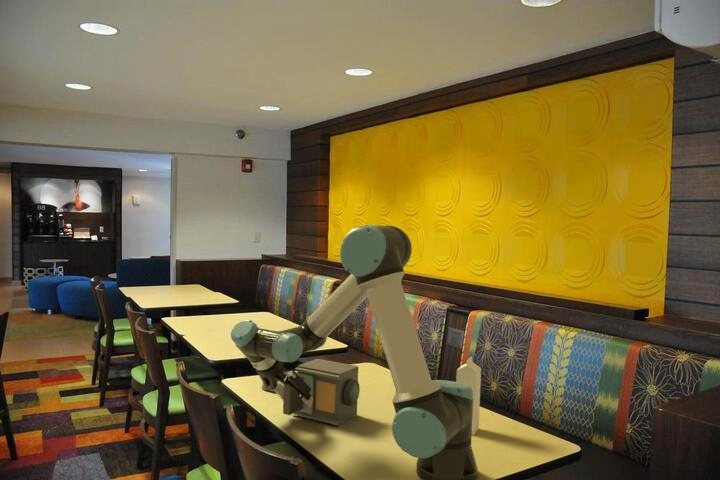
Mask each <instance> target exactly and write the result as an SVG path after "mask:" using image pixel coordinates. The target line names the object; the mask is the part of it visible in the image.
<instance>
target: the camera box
mask: <svg viewBox="0 0 720 480" xmlns="http://www.w3.org/2000/svg"><path fill="white" fill-rule="evenodd" d="M294 371H295V372H299V373H304V374H309V375H314V394H313V399H314V400H313V414H309V413H305V412H301V411H297V412H295V413H293V416H294V415H295V416H298V417H301V418H306V419H310V420H314V421H318V422H320V423H321V422H322V423H327V424H329V425H333V426H337V427H339V426H340V425H342V424H345V423H346V422H347V421H350V420H351V419H353V418H356V416H358V399H359V396H360V390H361V387H360V384H359V366H358V365H355V364H354V365H353V364H349V363H343V362H339V361H332V360H327V359H322V358H321V359H320V358H316V359H312V360H310V361H307V362H304V363H301V364H299V365H297V367H295V368H294Z"/></svg>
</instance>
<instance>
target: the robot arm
mask: <svg viewBox="0 0 720 480" xmlns="http://www.w3.org/2000/svg"><path fill="white" fill-rule="evenodd" d="M412 249H413V245H412V241H411V239H410V237H409V236H408V234H407V233H406V232H405V231H404V230H403V229H401V228H399V227H397V226H394V225H375V224H374V225H373V224H366V225H361V226H356V227H354V228H352V229H351V230H349V232H347V233H346V235H345V236H344V237H343V241H342V242H341V244H340V247H339V257H340V262H341V265H342V266H343V268H344V269H345V271H346V272H348V273H349V274H350V275H349V276H348V277H347V278H346V279H345V280H344V281H343V282H342V283H341V284H339V286H338V287H337V288H336V289H335V290H334V291H333V292H332V293H331V294H330V295H329V296H328V297H327V298H326V299H325V300H324V301H323V302H322V303H321V304H320V306H318V307H317V308H316V310H315V311H314V312H312V314H311V315H310V316H308V318H307V319H306V320H305V321H304V322H302V324H300V325H299V326H296V327H292V328H288V329H284V330H270V329H266V328H260V327H258V325H257V324H256V323H255V322H254V321H253V320H252V319H243V320H240V321H239V322H237V323H236V324H234V327H233V328H232V329H231V331H230V338H231V340H232V341H233V343H234V344H235V347H236V348H237V349H238V350H239V351H240V352H241V353H242V354H243V356H244V357H245V358H246V359H247V360H248V361H249V362H250V364H251V365H252V367H253V368H254V369H255V373H257V375H258V376H259V378H260V379H261V381H262V384H263V383H264V385H265V386H266V387H269V386H270V388H271V389H274V391H275V392H274V393H275V394H277V396H278V397H279V398H280V399H281V400H282V401H283V397H284V387H283V386H282V385H281V384H280V383H278V384H277V382H278V381H280V382H281V383H283V384H284V385H286V384H287V385H288V386H289V387H291V388H292V389H293V390H295V391H296V392H297V393H299V394H300V398H301V399H302V400H303V401H304V403H305V404H306V405H307V406H308V407H310V406H311V404H312V402H313V400H314V399H313V398H312V397H311V395H310V394H309V393H310V391H311V388H310V387H309V386H308V385H307V384H306V383H305V382H304V381H303V380H302V379H301V378H300V377H299V376H298V375H297V373H296V372H297V371H295V370H291V371H292V372H291V373H290V371H288V370H287V369H286V368H285V367H284V363H294V362H297V361H298V359H299V358H300V357H301V355H302V354H304V353H307V352H312V351H316V350H318V349H319V348H321V347H323V346H324V345H325V344H326V342H327V339H328V336H329V335H330V334H331V333H332V332H333V331H334V330H335V329H336V328H337V327H338V326H340V324H341V323H342V322H343V321H344V320H345V319H346V318H347V317H349V316H350V315H351V314H352V313H353V312H354V311H355V310H357V309H356V308H358V306H360V305H361V304H362V303H363V302H364V301H365V300H366V299H368V302H369V306H370V309H371V313H372V316H373V320H374V322H375V326H376V329H377V332H378V336H379V338H380V342H381V346H382V349H383V351H384V355H385V358H386V362H387V365H388V368H389V372H390V375H391V379H392V382H393V385H394V388H395V394H394V396H393V398H392V405H393V407H394V412H395V415H394V417H393V421H392V424H391V433H392V436H393V438H394V441H395V443H396V445H397V446H398V447H399V448H400V449H401V450H402V451H403V452H404V453H406V454H408V455H409V456H411V457H413V458H417V460H416V468H415V469H416V470H415V472H416V475H417V476H418V478H420V480H478V471H479V470H478V466H477V463H476V462H477V460H476V458H475V454H474V452H473V448H472V447H473V446H472V436H473V435H472V414H473V401H474V399H473V390H472V388H471V387H470V386H468V385H466V384H463V383H459V382H456V381H454V380H442V379H433V380H432V377H431V374H430V371H429V368H428V364H427V361H426V359H425V355H424V352H423V349H422V345H421V343H420V338H419V336H418V333H417V329H416V326H415V323H414V320H413V317H412V314H411V311H410V310H411V309H410V308H409V304H408V300H407V297H406V294H405V290H404V287H403V285H402V279H403V277H404V275H405V270H404V268H405V267H406V265H407V264H408V263H409V261H410V260H411V257H412V253H413V250H412Z"/></svg>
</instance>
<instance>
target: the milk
mask: <svg viewBox="0 0 720 480" xmlns="http://www.w3.org/2000/svg"><path fill="white" fill-rule="evenodd" d="M481 375H482V367H480V366H479V365H477V364H476V363H475V362H474V361H473V356H470V357H469V358H468V359H467V360H466V363H464V364H462V365H461V366H460V367H458V368H457V369H456V380H455V382H459V383H463V384H466V385H468V386H470V387H471V388H472V390H473V399H474V401H473V414H472V436H474V435H475V434H476V433H477V431H478V430H479V429H480V428H479V427H480V407H481V405H480V404H481V383H482V380H481V379H482V376H481Z"/></svg>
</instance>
